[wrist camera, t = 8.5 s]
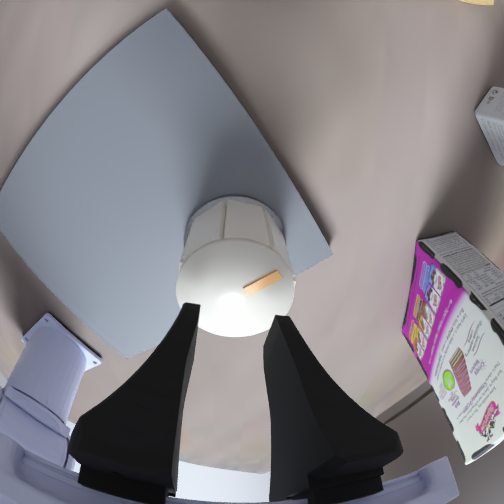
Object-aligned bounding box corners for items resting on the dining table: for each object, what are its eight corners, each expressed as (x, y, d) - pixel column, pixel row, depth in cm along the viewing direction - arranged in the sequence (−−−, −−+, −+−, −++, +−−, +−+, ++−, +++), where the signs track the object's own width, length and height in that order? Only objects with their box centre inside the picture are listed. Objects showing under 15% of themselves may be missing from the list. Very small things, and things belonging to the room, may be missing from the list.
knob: (224, 294, 19) (221, 350, 15) (172, 233, 17) (151, 283, 12) (296, 255, 18) (313, 308, 14) (249, 184, 15) (254, 221, 11)
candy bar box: (437, 318, 25) (504, 439, 11) (399, 331, 25) (461, 468, 11) (458, 226, 19) (581, 360, 5) (414, 237, 19) (542, 403, 5)
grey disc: (223, 296, 20) (221, 337, 17) (164, 230, 17) (148, 265, 14) (302, 253, 18) (316, 291, 15) (249, 173, 16) (253, 196, 12)
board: (129, 351, 25) (126, 359, 24) (-5, 209, 16) (-12, 214, 15) (329, 247, 19) (333, 254, 19) (170, 12, 11) (166, 8, 10)
